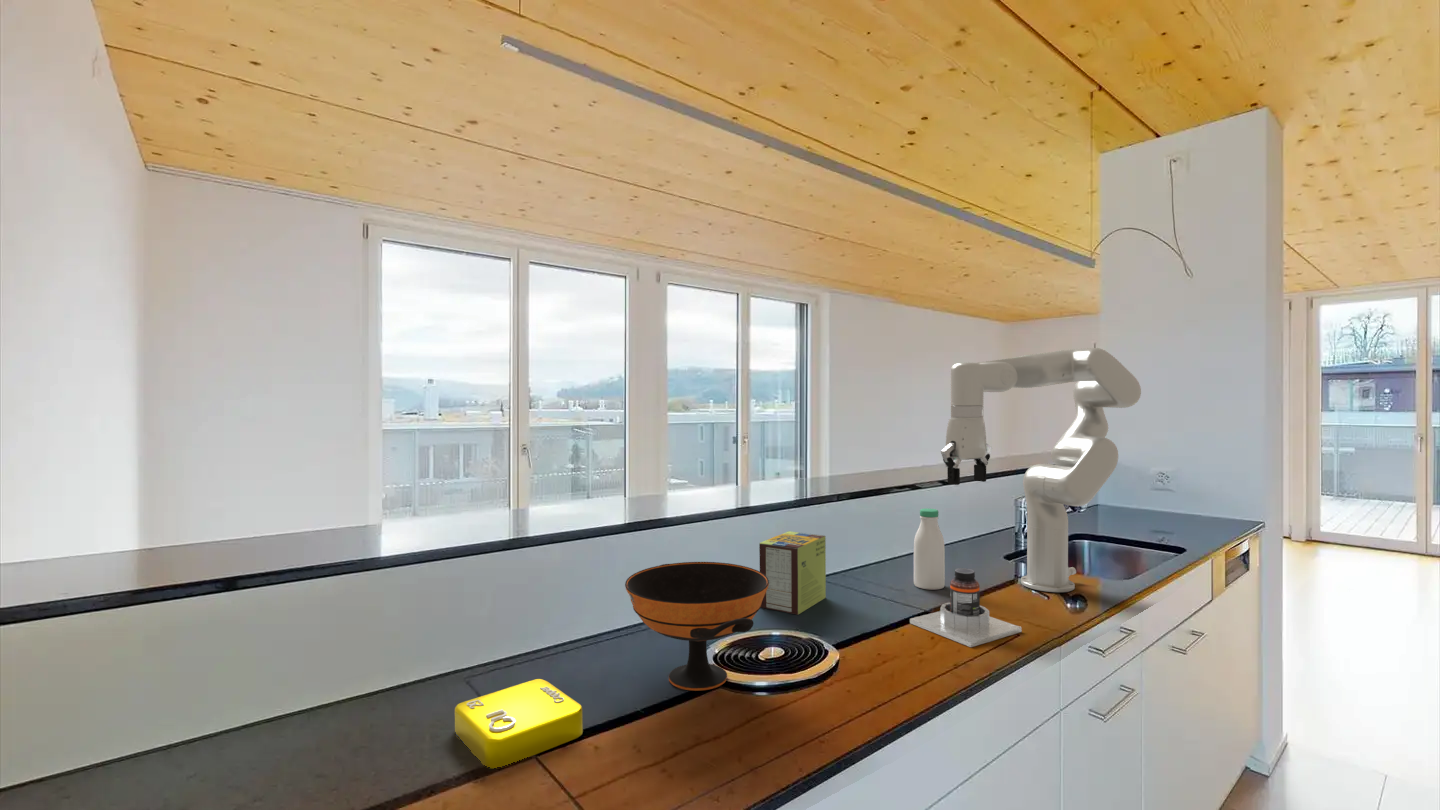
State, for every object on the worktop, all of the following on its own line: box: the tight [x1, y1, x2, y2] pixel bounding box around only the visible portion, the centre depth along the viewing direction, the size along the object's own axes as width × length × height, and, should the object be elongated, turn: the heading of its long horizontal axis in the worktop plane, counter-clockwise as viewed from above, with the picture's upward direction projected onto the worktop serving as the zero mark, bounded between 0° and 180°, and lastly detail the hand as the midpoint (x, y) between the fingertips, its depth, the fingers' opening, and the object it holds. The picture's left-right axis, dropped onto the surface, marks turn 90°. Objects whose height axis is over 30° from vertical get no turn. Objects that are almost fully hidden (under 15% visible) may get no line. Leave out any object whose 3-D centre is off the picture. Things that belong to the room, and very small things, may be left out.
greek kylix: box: [624, 561, 769, 692], centre depth 118 cm, size 36×26×18 cm
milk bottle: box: [913, 508, 946, 591], centre depth 173 cm, size 8×8×20 cm
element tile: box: [454, 678, 584, 769], centre depth 100 cm, size 15×15×5 cm
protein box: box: [758, 530, 827, 616], centre depth 160 cm, size 10×15×16 cm
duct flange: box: [909, 601, 1022, 648], centre depth 143 cm, size 16×16×4 cm
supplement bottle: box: [949, 567, 981, 615], centre depth 143 cm, size 6×6×11 cm
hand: (967, 482), depth 163 cm, fingers open, 9 cm apart
